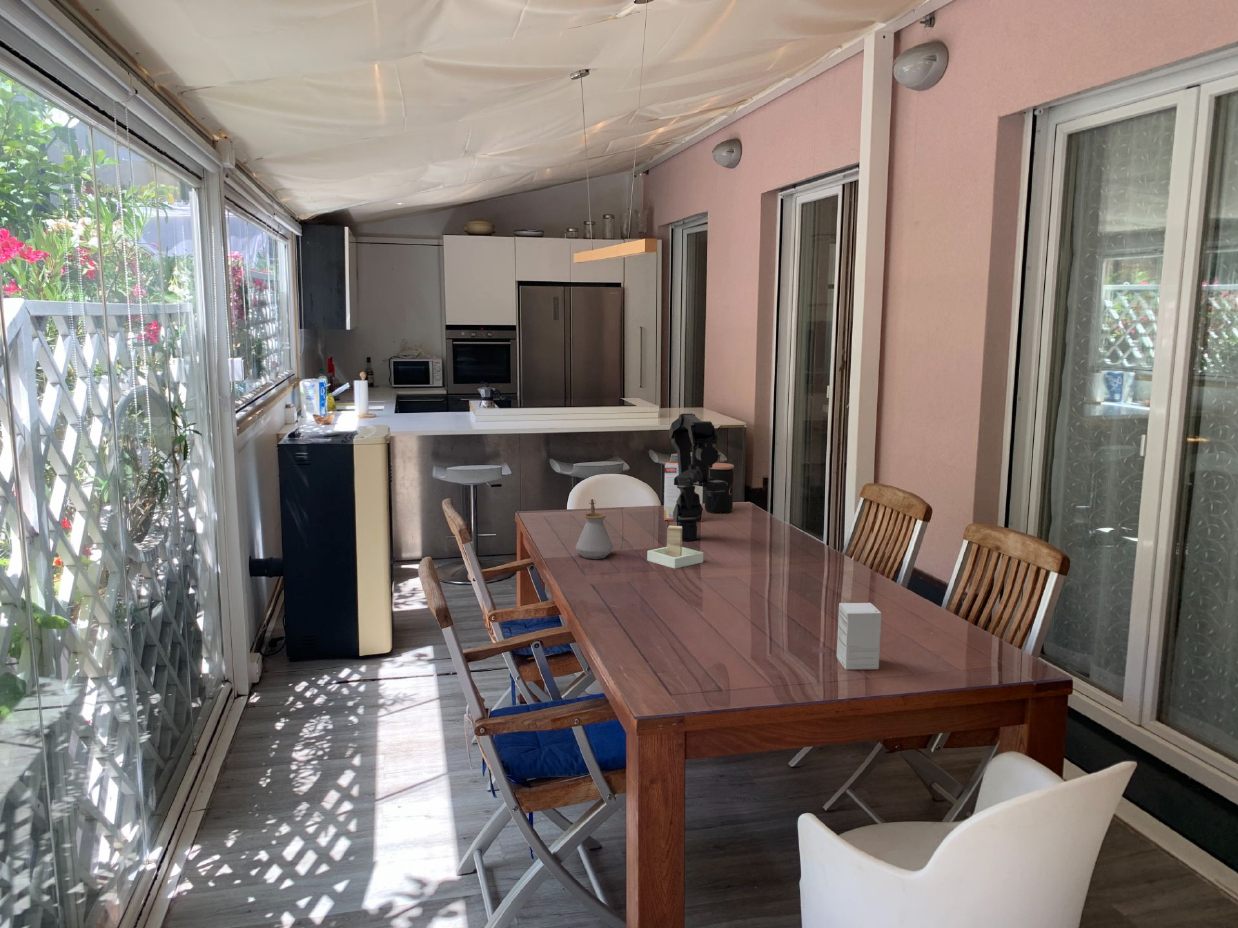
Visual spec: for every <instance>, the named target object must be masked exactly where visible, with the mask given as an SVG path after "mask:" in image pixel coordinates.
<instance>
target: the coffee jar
mask: <svg viewBox="0 0 1238 928" xmlns="http://www.w3.org/2000/svg"><path fill="white" fill-rule="evenodd" d="M734 467H735V465H734V464H732V463H725V462H716V463H715V464H713V468H710V477H712V481H714V480H720V481H726V482H727V484H728V490H725V492H724V493H722V494H721V496H720V497H719V499H718V501H717V503H716V505H715V507H714V509H713V511H712V512H709V510H708V495H707V494H706V492H705V491H708V490H707V489H706V487H704V489H705V490H704V510H705V511H706V513H708V514H709V513H710V514H718V515H724V514H730V513H732V510H733V507H734V506H733V505H734V503H733V502H734V477H735V473H734Z"/></svg>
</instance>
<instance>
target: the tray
mask: <svg viewBox="0 0 1238 928" xmlns="http://www.w3.org/2000/svg"><path fill="white" fill-rule="evenodd" d="M646 557H647V558H646V559H647V561H648V562H650V563H654V564H658V565H662V566H664V567H668V568H671V569H679V568H685V567H688V566H693V565H698V564H702V563H704V552H703V551H699V550H695V549H691V548H689V547H684V546H682V555H681V556H680V557H671V556H668V555H667V546H665V547H660V548H655V549H649V550H647V556H646Z"/></svg>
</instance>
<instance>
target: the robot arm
mask: <svg viewBox="0 0 1238 928" xmlns="http://www.w3.org/2000/svg"><path fill="white" fill-rule="evenodd" d="M668 435H669V437H668V438H669V439H670V441H671V445H672V447H673V449H674V450H675V451H676V453H677V454H676V457H677V463H678V469H679V475H678V476H676V477H675V478H674V485H677V488H679V489H680V495H679V497H678V499H677V501H676V505H675V508H674V511H673V520H674V521H673V522H675V523H676V526H682V542H683V541H684V542H690V541H695V540H699V539H700V537H699V536H698V524H697V521H699V522H702V521H701V517H702V518H703V511H704V507H703V505H701V504H700V496H699V494H696V493H695V486H693V485H696V486H702V487H703V488H705V487H706V489H707V490H708V491H705V490H704V493H705V492H706V494H707V495H708V510H709V512H712V511H713V509H714V507H715V505H716V503H717V501H718V499H719V497H720V496H721V494H722V493H724V492H725V490H728V484H727V482H726V481H720V480H714V481H712V477H710V468H713V464H715V463H718V460H719V457H720V456H719V455H720V454H719V451H718V450H717V449H716V448H715V447H714V446H713V445H717V444H718V435H717V431H716V428H715V425H714V424H713V422H712V421H709V420H707V421H706V420H702V419H700V418H698V417H697V416H696V414H695V413H690V412H689V413H680V414H678V417H677V418H676V419H675V420H674V421H673V422H671V425H670V427H669V431H668ZM697 482H698V483H697ZM702 483H703V484H702ZM709 512H708V513H709ZM678 516H679V517H678ZM699 522H698V523H699Z"/></svg>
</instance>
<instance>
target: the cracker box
mask: <svg viewBox="0 0 1238 928" xmlns="http://www.w3.org/2000/svg"><path fill="white" fill-rule="evenodd" d="M678 475H679V469H678V462H665V463H664V483H663V485H664V489H663V491H664V492H663V495H664V497H663V521H665V520H668V521H669V522H675V521H674V520H673V511H674V508H675V505H676V501H677V499H678V497H679V495H680V489H679V488H677V485H674V478H675V477H676V476H678ZM697 483H698V482H697ZM702 484H703V483H702ZM693 486H695V493H696V494H699V496H700V504H701V505H702V506H703V500H704V498H703V497H704V495H703V493H704V487H702V486H696V485H693ZM678 517H679V516H678ZM702 521H703V516H702V517H701V522H702ZM697 522H698V523H699V521H697Z"/></svg>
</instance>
